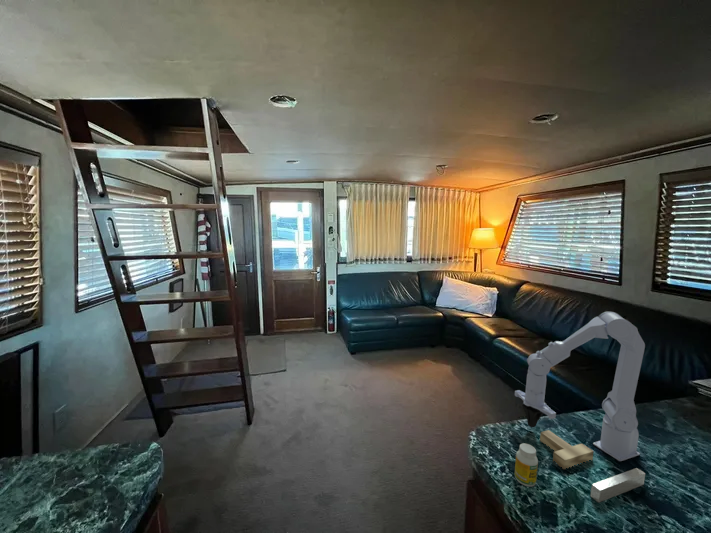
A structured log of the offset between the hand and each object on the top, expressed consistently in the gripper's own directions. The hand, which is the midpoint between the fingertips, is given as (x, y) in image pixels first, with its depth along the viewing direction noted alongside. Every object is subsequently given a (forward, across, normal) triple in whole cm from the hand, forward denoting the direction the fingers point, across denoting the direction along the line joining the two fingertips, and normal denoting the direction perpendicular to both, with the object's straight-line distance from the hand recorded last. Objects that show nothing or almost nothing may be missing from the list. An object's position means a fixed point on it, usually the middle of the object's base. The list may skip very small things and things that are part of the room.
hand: (531, 425), depth 106 cm
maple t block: (+2, +10, 0) cm, 11 cm away
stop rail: (+2, +26, +1) cm, 26 cm away
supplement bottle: (+2, +16, -20) cm, 25 cm away
